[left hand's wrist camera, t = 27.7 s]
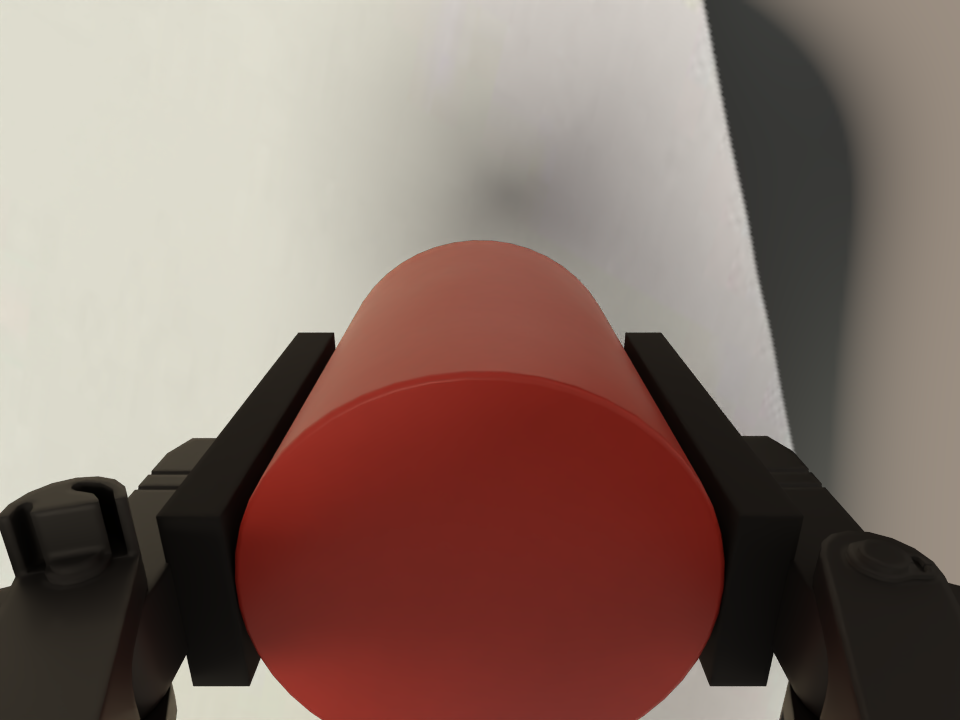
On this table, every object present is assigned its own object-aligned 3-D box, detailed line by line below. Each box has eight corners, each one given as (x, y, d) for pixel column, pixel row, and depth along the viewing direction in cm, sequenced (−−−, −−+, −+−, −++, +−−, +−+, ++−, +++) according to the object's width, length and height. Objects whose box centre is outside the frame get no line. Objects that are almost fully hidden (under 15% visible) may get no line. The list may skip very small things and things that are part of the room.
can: (532, 524, 16) (568, 818, 10) (304, 425, 15) (168, 677, 9) (666, 318, 14) (831, 509, 8) (414, 187, 13) (349, 276, 7)
